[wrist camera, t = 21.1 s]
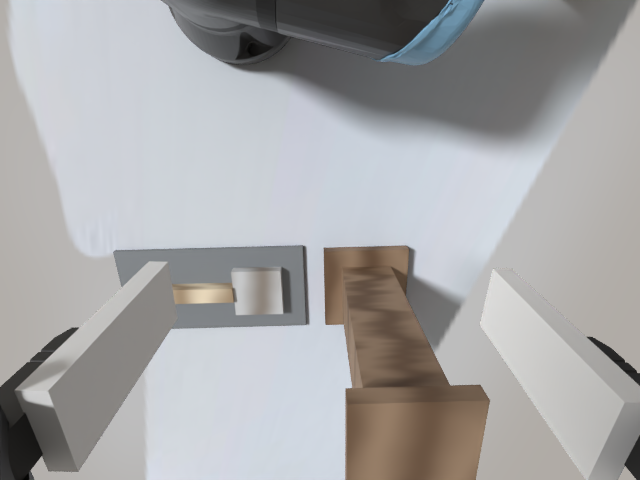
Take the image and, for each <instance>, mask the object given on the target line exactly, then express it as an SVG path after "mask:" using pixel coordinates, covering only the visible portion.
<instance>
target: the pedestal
mask: <svg viewBox="0 0 640 480" xmlns="http://www.w3.org/2000/svg"><path fill="white" fill-rule="evenodd" d="M408 258H409V249H408V247H407V246H376V247H338V248H324V282H325V323H326V325H337V324H344V329H345V337H346V344H347V351H348V359H349V366H350V373H351V381H352V388H348V389H346V452H345V480H476V474H477V469H478V463H479V458H480V452H481V447H482V441H483V436H484V430H485V425H486V419H487V413H488V408H489V402H490V400H489V398H488V397H487V395H486V393H485V392H484V390H483V388H482V387H481V385H455V386H450V384H449V382H448V380H447V378H446V376H445V374H444V372H443V370H442V368H441V366H440V364H439V362H438V361H437V358H436V356H435V354H434V352H433V350H432V348H431V346H430V344H429V342H428V340H427V338H426V336H425V334H424V332H423V330H422V328H421V326H420V324H419V322H418V320H417V318H416V316H415V314H414V312H413V310H412V308H411V306H410V304H409V302H408V300H407V298H406V287H407V273H408Z"/></svg>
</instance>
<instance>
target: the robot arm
mask: <svg viewBox="0 0 640 480" xmlns="http://www.w3.org/2000/svg"><path fill="white" fill-rule="evenodd" d="M161 1H163V2H164V3H165V4H167V5H168V6H169V9H170V11H171V13H172V15H173V17H174V19H175V21H176V23H177V24H178V26H179V27H180V29H181V30H182V31H183V33H184V34H185V35H186V36H187V37H188V38H189V40H190V41H191V42H193V43H194V44H195V45H196V46H197V47H198V48H200V49H201V50H202V51H204V52H206V53H207V54H209V55H211V56H212V57H214V58H216V59H219V60H221V61H224V62H228V63H232V64H252V63H257V62H260V61H263V60H265V59H267V58H269V57H271V56H272V55H274V54H275V53H277V52H278V51H279V50H280V49H281V48H282V47H283V46H284V45H285V44H286V43H287V42H288V40H289V39H290V37H295V38H298V39H302V40H306V41H310V42H313V43H317V44H321V45H325V46H328V47H332V48H336V49H340V50H343V51H347V52H351V53H355V54H358V55H362V56H366V57H370V58H371V59H373V60H375V61H381V62H388V61H392V62H397V63H402V64H407V65H422V64H426V63H428V62H430V61H432V60H434V59H436V58H437V57H439V56H440V55H441V54H443V53H444V52H445V51H446V50H447V49H448V48H449V47H450V46H451V45H452V44H453V43H454V42H455V41H456V40H457V38H458V37H459V36H460V35H461V34H462V32H463V31H464V30H465V29H466V27H467V26H468V24H469V23H470V22H471V20H472V19H473V17H474V16H475V14H476V13H477V11H478V10H479V8H480V7H481V5H482V3H483V2H484V0H161ZM176 320H177V313H176V307H175V301H174V295H173V289H172V283H171V277H170V271H169V265H168V262H156V261H149V262H148V263H147V264H146V265H145V266H144V267H143V268H142V269H141V270H139V271H138V272H137V273H136V274H135V275H134V276H133V277H132V278H131V279H130V280H129V281H128V282H127V283H126V284H125V285H124V286H123V287H122V288H121V289H120V290H119V291H118V292H116V293H115V294H114V296H112V297H111V298H110V299H109V300H108V301H107V302H106V303H105V304H104V305H103V306H102V307H101V308H100V309H99V310H98V311H97V312H96V313H95V314H94V315H93V316H91V317H90V318H89V319H88V320H87V321H86V322H85V323H84V324H83V325H82V326H81V327H80V328H71V329H69V330H67V331H66V332H64V333H62V334H60V335H59V336H57V337H55V338H54V339H53V340H52V341H51V342H49V343H48V344H47V345H46V346H45V347H44V348H43V349H42V350H41V352H38V353H37V354H36V355H35V356H34V357H33V358H32V359H31V360H30V362H27V363H26V364H25V365H24V366H23V367H22V368H21V369H20V370H18V371H17V372H16V373H15V374H14V375H13V376H12V377H11V378H10V379H9V380H7V381H6V382H5V383H4V384H3V385H2V386H1V387H0V480H34V477H33V475H32V473H31V471H30V470H31V469H32V467H33V466H34V465H35V464H36V462H37V461H38V460H39V459H40V457H41V456H42V457H43V459H44V462H45V464H46V466H47V469H48V471H64V472H65V471H66V472H68V471H69V472H78V471H79V470H80V468H81V467H82V465H83V464H84V462H85V461H86V459H87V457H88V456H89V454H90V453H91V451H92V450H93V448H94V447H95V445H96V444H97V442H98V440H99V439H100V437H101V436H102V434H103V433H104V431H105V430H106V428H107V427H108V425H109V424H110V422H111V420H112V419H113V417H114V416H115V414H116V413H117V411H118V410H119V408H120V407H121V405H122V403H123V402H124V400H125V399H126V397H127V396H128V394H129V393H130V391H131V390H132V388H133V387H134V385H135V384H136V382H137V380H138V379H139V377H140V376H141V374H142V373H143V371H144V370H145V368H146V367H147V365H148V363H149V362H150V360H151V359H152V357H153V356H154V354H155V353H156V351H157V350H158V348H159V347H160V345H161V343H162V342H163V340H164V339H165V337H166V336H167V334H168V333H169V331H170V330H171V328H172V326H173V325H174V323H175V322H176ZM480 326H481V328H482V329H483V331H484V332H485V334H486V335H487V336H488V338H489V339H490V341H491V342H492V344H493V345H494V347H495V348H496V350H497V351H498V353H499V354H500V356H501V357H502V358H503V360H504V361H505V363H506V364H507V366H508V367H509V369H510V370H511V372H512V373H513V375H514V376H515V377H516V379H517V380H518V382H519V383H520V385H521V386H522V388H523V389H524V391H525V392H526V394H527V395H528V396H529V398H530V399H531V401H532V402H533V404H534V405H535V407H536V408H537V409H538V411H539V412H540V414H541V415H542V417H543V418H544V420H545V421H546V423H547V424H548V426H549V427H550V429H551V430H552V432H553V433H554V434H555V436H556V437H557V439H558V440H559V442H560V443H561V445H562V446H563V448H564V449H565V451H566V452H567V453H568V455H569V456H570V458H571V459H572V461H573V462H574V464H575V465H576V467H577V468H578V469H579V471H580V472H581V474H582V475H583V477H584V478H585V480H618V478H619V476H620V475H621V473H622V471H623V469H624V467H625V466H626V467H627V468H628V470H629V471H630V472H631V473H632V475H633V476H634V477H635V478H636V480H640V373H637V371H636V370H635V369H634V368H633V367H632V366H631V365H630V364H629V363H625V360H624V359H623V358H622V357H621V356H619V355H618V354H617V353H616V352H615V351H614V350H613V349H611V348H610V347H608V346H607V345H605V344H603V343H602V342H600V341H598V340H596V339H595V338H593V337H586V336H585V335H584V334H583V333H582V332H580V331H579V330H578V329H577V328H576V327H575V326H574V325H573V324H572V323H571V322H570V321H568V320H567V319H566V318H565V317H564V316H563V315H562V314H561V313H560V312H559V311H557V310H556V309H555V308H554V307H553V306H552V305H551V304H550V303H549V302H547V300H545V299H544V298H543V297H542V296H541V295H540V294H539V293H538V292H537V291H536V290H535V289H533V288H532V287H531V286H530V285H529V284H528V283H527V282H526V281H524V279H523V278H521V277H520V276H519V275H518V274H517V273H516V272H515V271H514V270H513V269H503V268H502V269H501V268H493V270H492V274H491V278H490V283H489V287H488V291H487V295H486V300H485V304H484V308H483V312H482V316H481V321H480Z"/></svg>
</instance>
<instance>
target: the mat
mask: <svg viewBox="0 0 640 480" xmlns="http://www.w3.org/2000/svg"><path fill="white" fill-rule="evenodd" d="M113 253H114V257H115V261H116V266H117V270H118V274H119V278H120V282H121V286H122V287H123V286H124V285H125V284H126V283H127V282H128V281H129V280H130V279H131V278H132V277H133V276H134V275H135V274H136V273H137V272H138V271H139V270H141V269H142V268H143V267H144V266H145V265H146V264H147V263H148V262H149V261H156V262H168V265H169V271H170V277H171V283H172V284H200V283H232V277H231V271H232V269H233V268H248V267H281V269H282V285H283V301H284V312H283V314H263V315H236V311H235V303H196V304H175V307H176V313H177V320H176V322H175V323H174V325H173V326H172V328H171V329H180V328H216V327H253V326H289V325H306V310H305V287H304V264H303V245H301V246H264V247H226V248H189V249H151V250H115V251H114V252H113Z"/></svg>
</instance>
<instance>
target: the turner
mask: <svg viewBox="0 0 640 480" xmlns="http://www.w3.org/2000/svg"><path fill="white" fill-rule="evenodd" d="M231 277H232V283H200V284H172V289H173V295H174V301H175V304H196V303H235V311H236V315H263V314H283V312H284V301H283V285H282V269H281V267H248V268H233V269H232V271H231Z"/></svg>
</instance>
